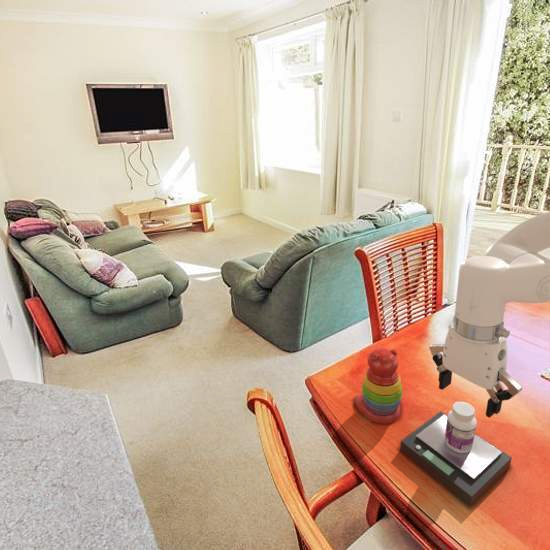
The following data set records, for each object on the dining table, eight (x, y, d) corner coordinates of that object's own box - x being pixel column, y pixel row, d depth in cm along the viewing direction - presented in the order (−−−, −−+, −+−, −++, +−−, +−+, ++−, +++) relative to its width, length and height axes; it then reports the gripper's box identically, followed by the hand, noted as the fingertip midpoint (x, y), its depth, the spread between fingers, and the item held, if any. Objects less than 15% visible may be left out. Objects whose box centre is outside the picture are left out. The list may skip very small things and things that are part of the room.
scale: (509, 467, 76) (512, 456, 75) (469, 507, 70) (472, 495, 68) (439, 420, 89) (440, 410, 87) (400, 450, 82) (400, 439, 81)
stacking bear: (391, 391, 99) (394, 335, 92) (410, 420, 90) (416, 359, 82) (352, 399, 97) (352, 342, 90) (368, 429, 88) (369, 368, 81)
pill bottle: (445, 430, 81) (449, 395, 78) (472, 437, 79) (478, 402, 75) (443, 449, 77) (448, 414, 73) (472, 457, 75) (478, 421, 71)
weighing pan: (501, 454, 76) (502, 451, 75) (473, 481, 71) (473, 478, 71) (443, 416, 86) (444, 414, 86) (415, 438, 81) (415, 435, 81)
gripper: (541, 337, 61) (524, 415, 68) (445, 301, 75) (439, 369, 82) (517, 355, 58) (501, 436, 65) (421, 314, 71) (417, 384, 78)
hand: (467, 399), depth 73 cm, fingers open, 9 cm apart
